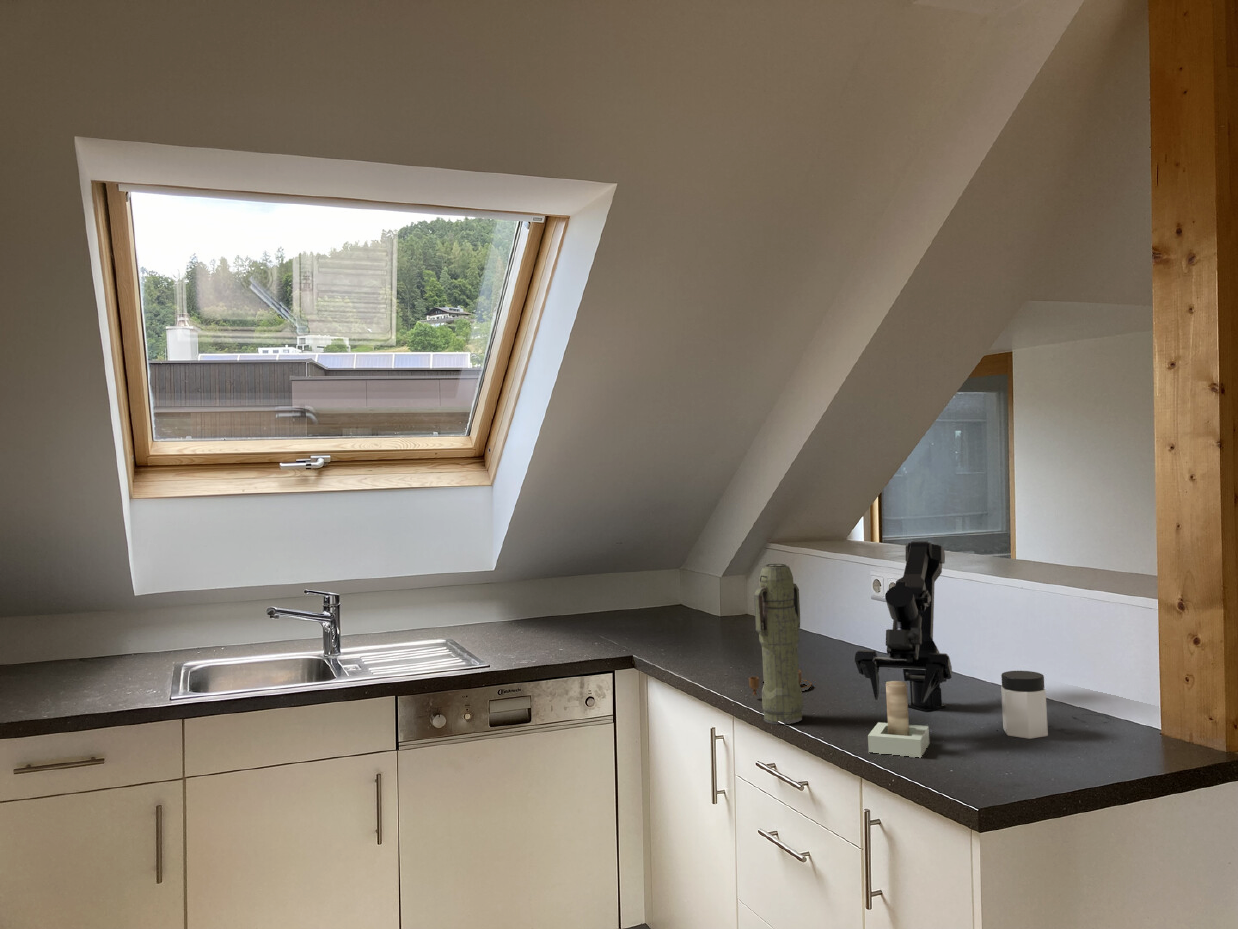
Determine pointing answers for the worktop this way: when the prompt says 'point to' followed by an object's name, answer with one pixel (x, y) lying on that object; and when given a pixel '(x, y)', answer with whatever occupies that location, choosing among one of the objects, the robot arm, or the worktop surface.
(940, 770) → the worktop surface
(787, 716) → the thermos
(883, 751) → the pale green square holder
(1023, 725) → the jar
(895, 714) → the dowel
